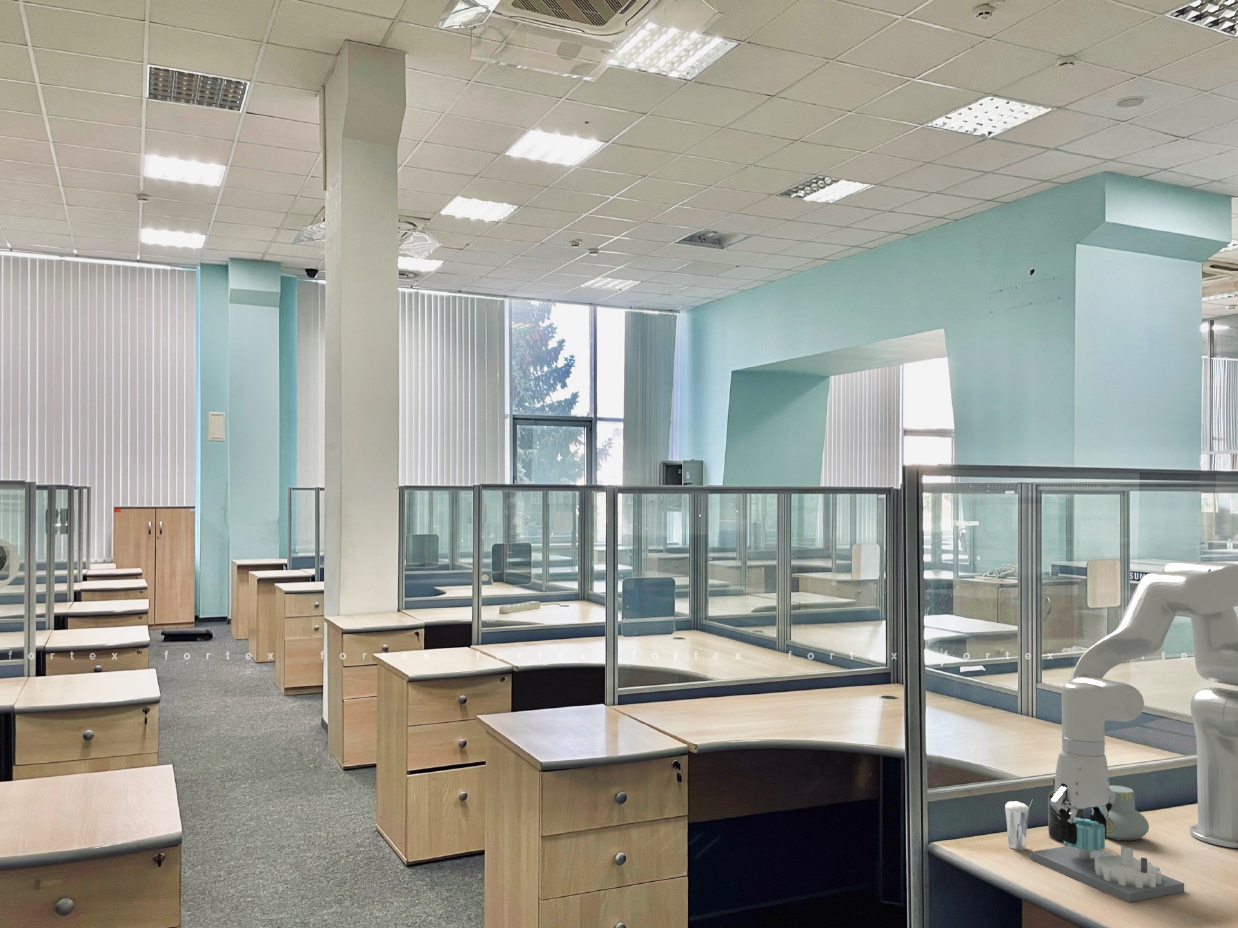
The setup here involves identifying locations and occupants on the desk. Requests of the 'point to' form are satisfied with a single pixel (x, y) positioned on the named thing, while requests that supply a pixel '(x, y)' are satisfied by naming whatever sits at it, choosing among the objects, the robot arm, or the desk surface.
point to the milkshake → (1017, 824)
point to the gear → (1089, 835)
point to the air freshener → (1125, 816)
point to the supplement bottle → (1053, 819)
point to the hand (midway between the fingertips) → (1083, 838)
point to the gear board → (1110, 872)
